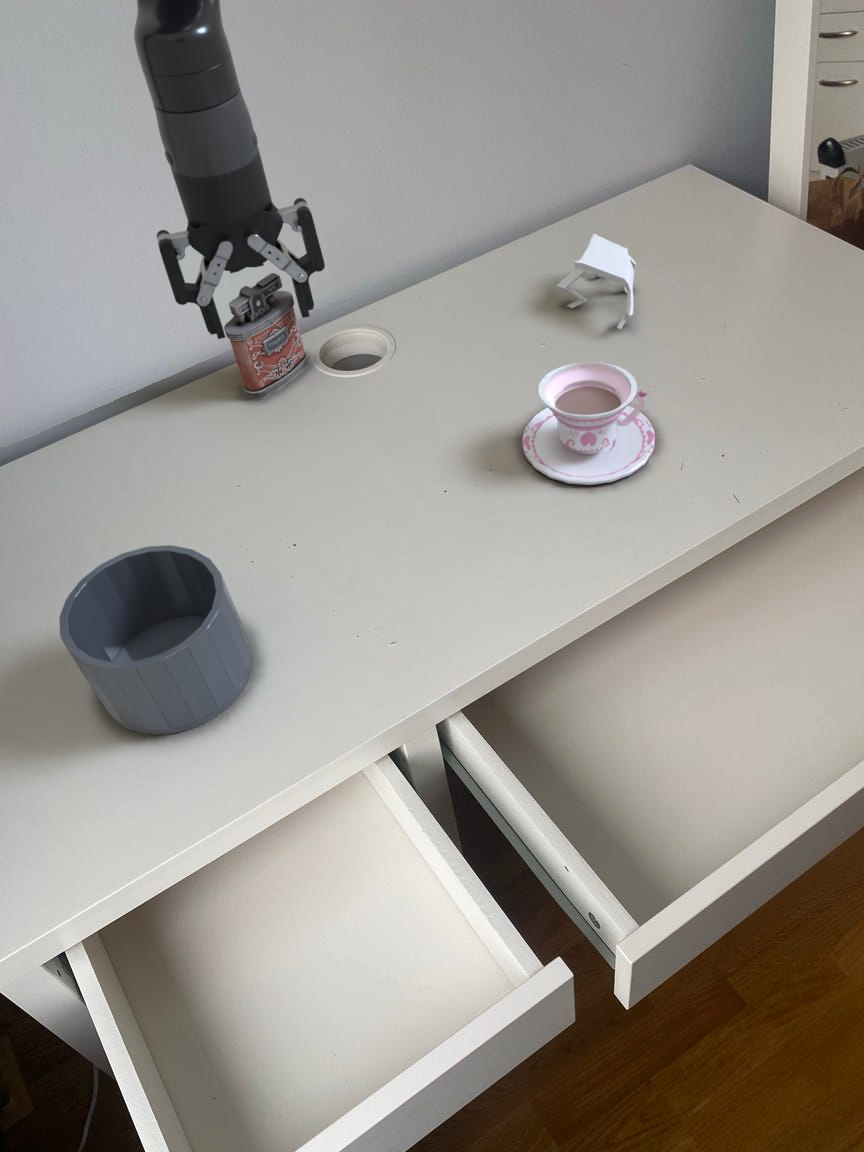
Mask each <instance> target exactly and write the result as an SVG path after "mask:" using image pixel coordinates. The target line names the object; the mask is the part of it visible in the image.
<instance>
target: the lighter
mask: <svg viewBox="0 0 864 1152" xmlns="http://www.w3.org/2000/svg"><path fill="white" fill-rule="evenodd" d="M282 288H283V282H282V278H281V276H280V275H279V274H278V273H275V272H271V273H269V274H268V275H265V276H264V277H263V278H261V279H260V280H259V281H257V282H256V284H255V285H253V286H252V287H251V286H248V285H244V286H243V287H241V288H240V290H239V292H238V296H236V297H235V298H234V299H232V300H231V301H230V302H228V307H229V309H230V313H231V315H233V317H232V318H231V319H230V320H229V321H227V323H226V324H224V326H223V330H224V334H225V337H226V338H227V339H229V341H230V345H231V348H232V350H233V355H234V357H235V360H236V364H237V366H238V370H239V373H240V376H241V379H242V383H243V384H242V388H243V392H244V394H245V395H244V396H245V397H246V398H248V399H250V400H255V401H257V400H262V399H263V400H264V399H265V398H267V397H269V396H270V395H273V394H274V393H276V392H278V391H279V390H281V389H282V388H283V387H285V386H287V385H289V384H290V383H291V382H292V381H293V380H294V379H296V377H298V376H299V375H300V374H301V373H302V372H303V371H304V370H305V369H306V368H307V367H308V366H309V365H310V360H309V356H308V353H307V352H306V351H305V348H304V342H303V339H302V336H301V332H300V329H299V327H300V326H299V323H298V320H297V316H296V312H295V307H294V305H295V301H294V296H293V294H292V293H291V292H290V291H286V290H280V289H282Z"/></svg>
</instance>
